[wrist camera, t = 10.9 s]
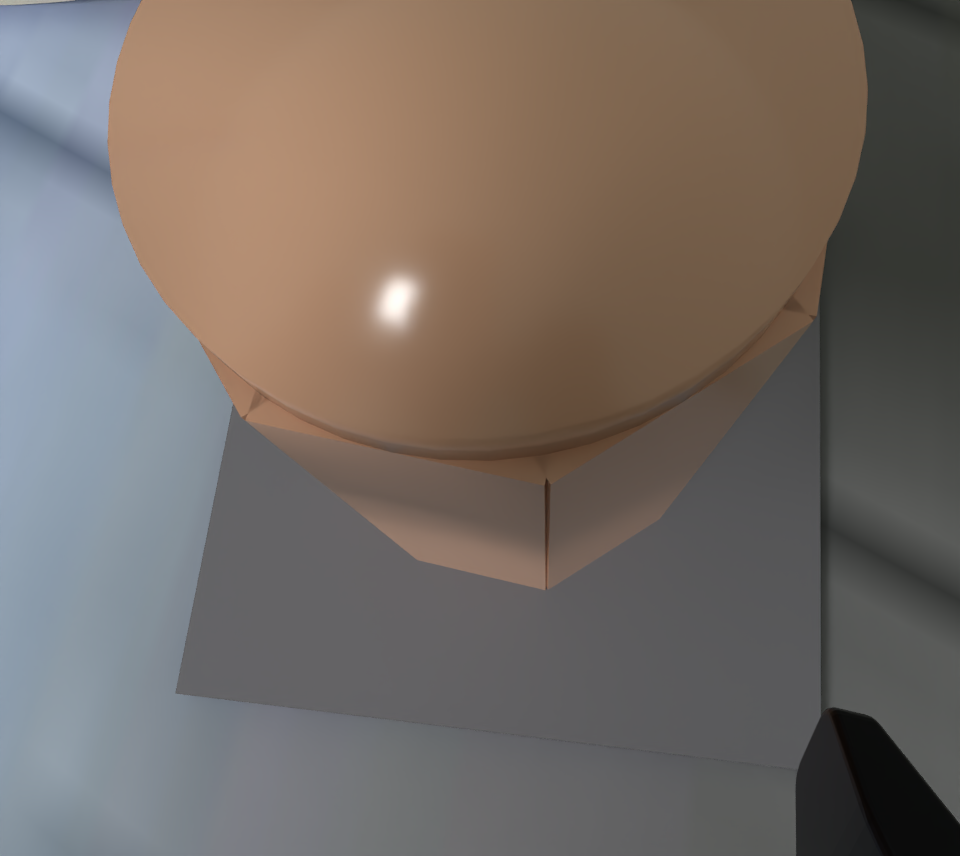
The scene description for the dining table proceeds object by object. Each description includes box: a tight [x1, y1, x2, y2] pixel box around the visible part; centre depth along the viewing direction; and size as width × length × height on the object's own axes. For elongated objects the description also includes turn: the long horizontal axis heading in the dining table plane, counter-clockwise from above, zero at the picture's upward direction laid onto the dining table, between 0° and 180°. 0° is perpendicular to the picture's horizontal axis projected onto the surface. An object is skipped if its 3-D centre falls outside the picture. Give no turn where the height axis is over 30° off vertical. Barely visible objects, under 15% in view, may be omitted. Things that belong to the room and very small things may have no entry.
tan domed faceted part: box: [108, 0, 868, 590], centre depth 14 cm, size 7×7×12 cm
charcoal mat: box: [176, 297, 821, 770], centre depth 20 cm, size 14×14×1 cm
